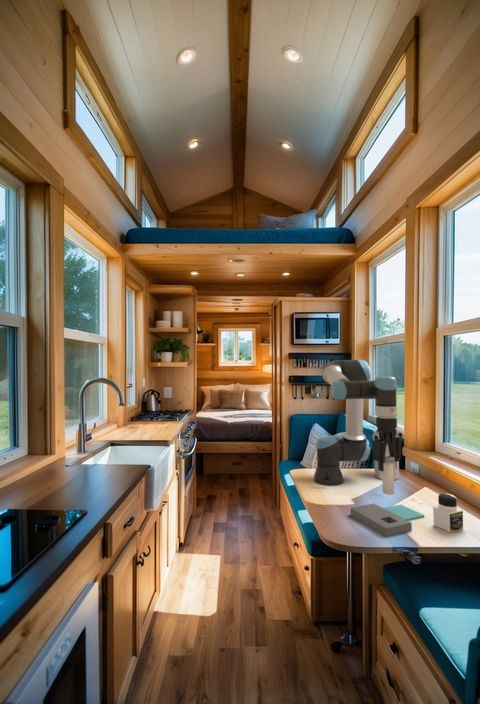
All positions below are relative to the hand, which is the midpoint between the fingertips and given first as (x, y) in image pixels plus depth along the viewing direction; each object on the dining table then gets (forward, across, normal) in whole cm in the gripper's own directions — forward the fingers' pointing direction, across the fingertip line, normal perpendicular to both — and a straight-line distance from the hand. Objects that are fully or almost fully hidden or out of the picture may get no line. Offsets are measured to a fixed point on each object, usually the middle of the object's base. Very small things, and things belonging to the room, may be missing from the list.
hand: (387, 478), depth 136 cm
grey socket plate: (+19, 0, +5) cm, 19 cm away
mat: (+19, +14, +8) cm, 24 cm away
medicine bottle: (+19, +21, -8) cm, 29 cm away
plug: (+5, 0, 0) cm, 5 cm away
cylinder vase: (+19, +44, +48) cm, 68 cm away
